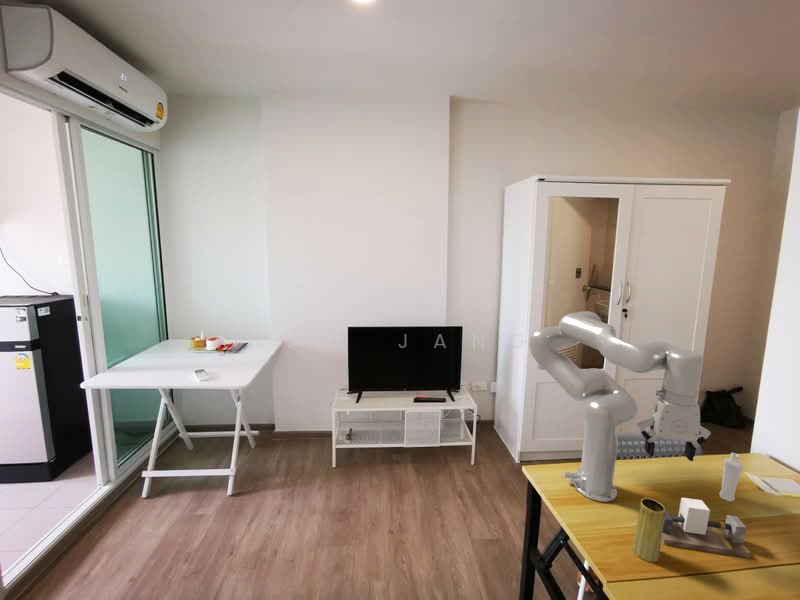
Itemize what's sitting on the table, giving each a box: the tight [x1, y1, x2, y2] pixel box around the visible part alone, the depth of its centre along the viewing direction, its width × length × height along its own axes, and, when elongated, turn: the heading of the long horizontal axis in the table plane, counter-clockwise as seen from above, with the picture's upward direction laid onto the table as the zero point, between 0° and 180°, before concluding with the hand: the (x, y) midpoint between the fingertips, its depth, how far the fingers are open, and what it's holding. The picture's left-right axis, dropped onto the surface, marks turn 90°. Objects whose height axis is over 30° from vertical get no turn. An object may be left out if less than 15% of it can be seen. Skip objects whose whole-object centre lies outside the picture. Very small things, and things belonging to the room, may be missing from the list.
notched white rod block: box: [677, 497, 711, 535], centre depth 105 cm, size 5×4×8 cm
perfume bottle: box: [718, 452, 744, 502], centre depth 121 cm, size 5×4×15 cm
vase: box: [631, 497, 666, 563], centre depth 99 cm, size 6×6×14 cm
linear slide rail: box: [661, 508, 752, 559], centre depth 106 cm, size 20×10×6 cm, turn 78°
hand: (668, 455), depth 104 cm, fingers open, 9 cm apart
